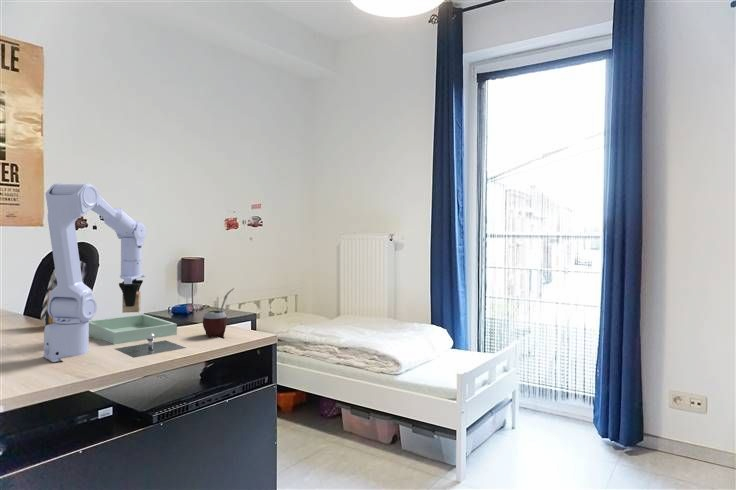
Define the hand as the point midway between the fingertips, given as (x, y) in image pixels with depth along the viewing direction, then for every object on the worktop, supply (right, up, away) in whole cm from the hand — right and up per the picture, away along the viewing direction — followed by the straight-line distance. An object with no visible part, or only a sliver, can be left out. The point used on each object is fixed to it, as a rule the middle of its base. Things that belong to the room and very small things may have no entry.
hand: (131, 305), depth 146 cm
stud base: (+14, -10, -17) cm, 24 cm away
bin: (0, -9, 0) cm, 9 cm away
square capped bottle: (0, -2, 0) cm, 2 cm away
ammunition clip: (-28, -9, +9) cm, 31 cm away
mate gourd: (+26, -10, 0) cm, 28 cm away
